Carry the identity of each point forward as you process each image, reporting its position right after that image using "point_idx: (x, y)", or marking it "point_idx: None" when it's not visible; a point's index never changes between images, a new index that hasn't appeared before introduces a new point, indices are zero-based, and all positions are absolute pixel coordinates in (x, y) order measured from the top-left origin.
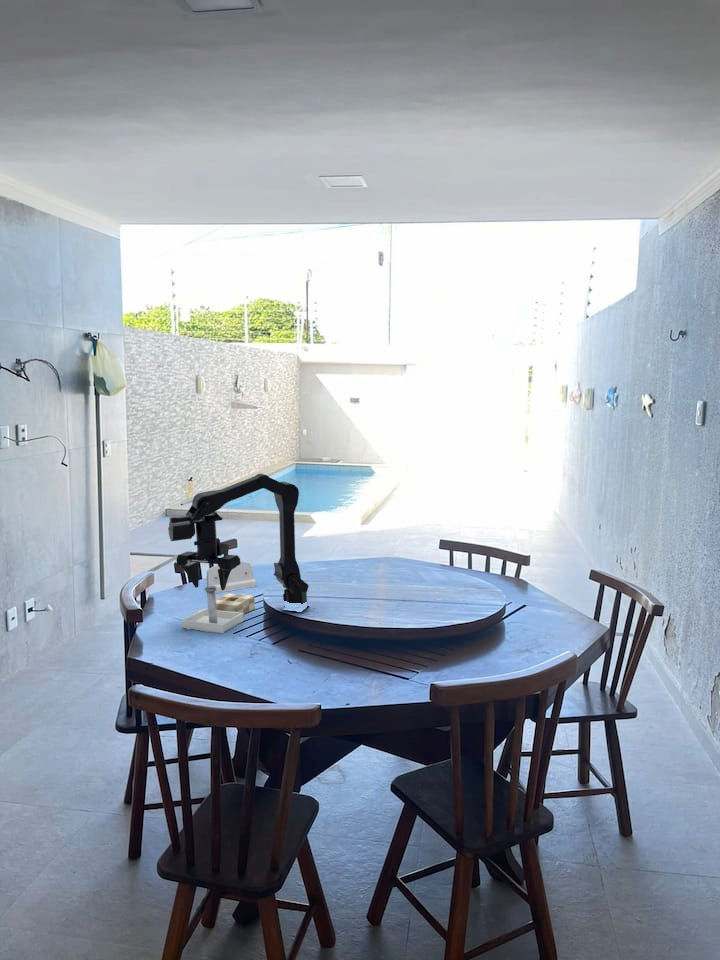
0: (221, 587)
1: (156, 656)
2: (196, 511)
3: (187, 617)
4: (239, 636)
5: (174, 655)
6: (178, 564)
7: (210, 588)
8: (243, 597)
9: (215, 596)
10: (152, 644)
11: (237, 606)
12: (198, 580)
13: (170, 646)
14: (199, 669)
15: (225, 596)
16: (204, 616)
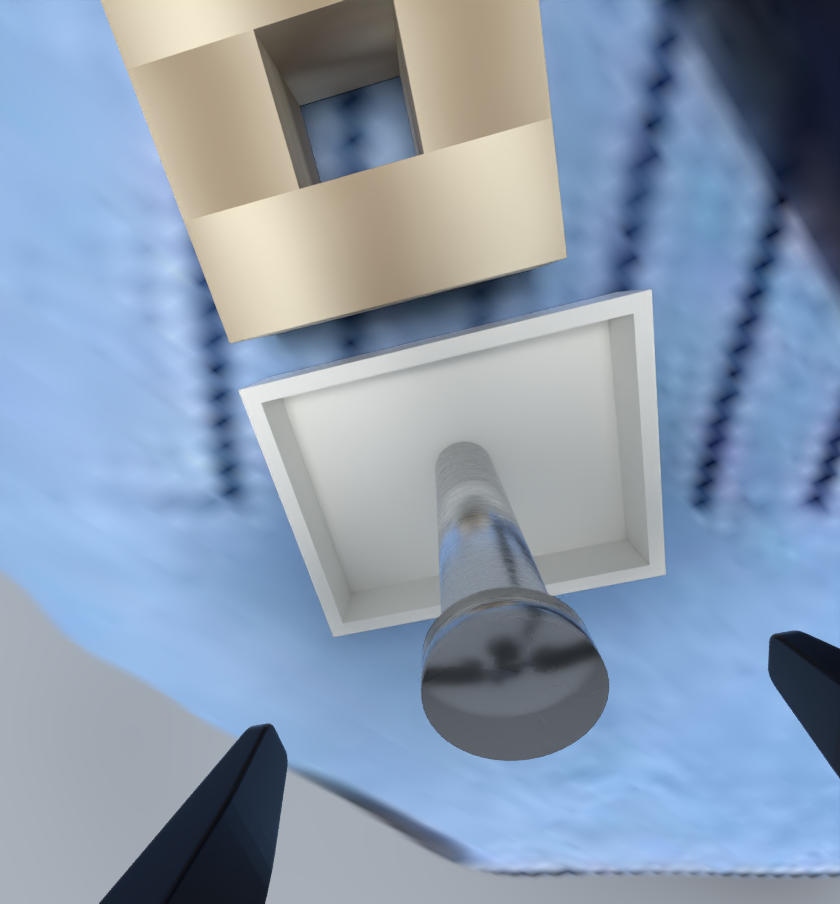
0: (833, 747)
1: (531, 834)
2: None
3: (315, 587)
4: (764, 524)
5: (597, 803)
6: None
7: (549, 725)
8: None
9: (533, 564)
10: (401, 778)
11: (563, 249)
12: (215, 830)
13: None
14: (799, 835)
15: (180, 44)
16: (291, 403)
